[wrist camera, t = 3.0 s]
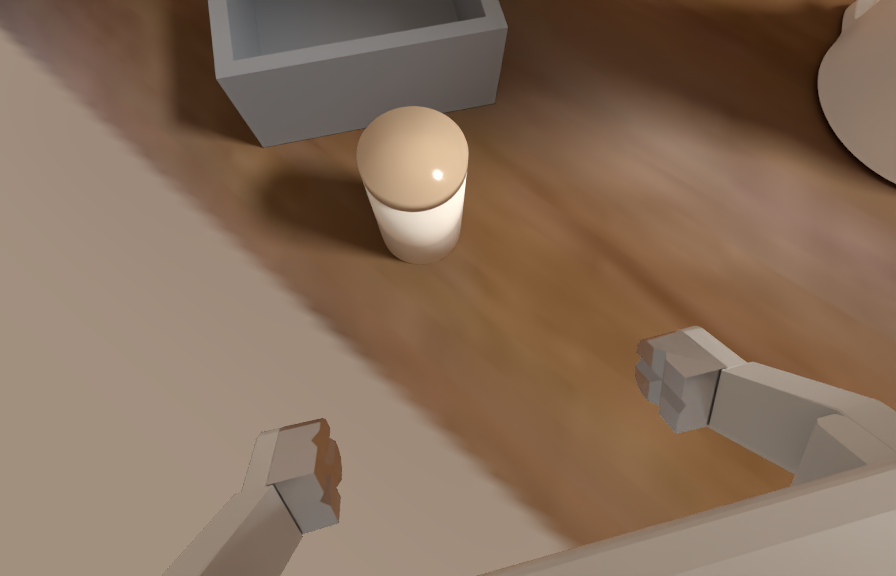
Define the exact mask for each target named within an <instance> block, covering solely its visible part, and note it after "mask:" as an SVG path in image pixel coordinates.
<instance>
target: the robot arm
mask: <svg viewBox="0 0 896 576" xmlns="http://www.w3.org/2000/svg"><path fill="white" fill-rule="evenodd" d="M818 93H819V99H820V103H821V106H822V109H823V112H824V114H825V116H826V118H827V120H828V122H829V124H830V126H831V127H832V129H833V131H834V132H835V134H836V135H837V136H838V138H839V139H840V140H841V142H842V143H843V144H844V145H845V146H846V147H847V148H848V150H849V151H850V152H851V153H852V154H853V155H854V156H856V157H857V158H858V159H859V160H860V161H861V162H862V163H864V164H865V165H866V166H867V167H869V168H870V169H872V170H873V171H874V172H876V173H877V174H879V175H881V176H882V177H884V178H886V179H887V180H889V181H891V182H893V183H895V184H896V0H856V1H855V2H854V3H852V4H851V5H850V6H849V7H848V8H847V9H846V11H845V13H844V17H843V23H842V33H841V35H840V36H839V38H838V39H837V41H836V42H835V43H834V44H833V45H832V46H831V48H830V49H829V50H828V51H827V53H826V54H825V56H824V58H823V60H822V63H821V65H820V69H819V74H818ZM637 354H638V355H639V356H640V357H641V359H640V360H639V362H638V363H637V364H636V366H635V378H636V382H637V385H638V387H639V389H640V391H641V393H642V394H643V396H644V397H645V398H646V399H647V400H648V401H649V402H652V403H654V404H656V405H658V406H659V415H660V416H661V417H662V418H663V419H664V421H665V422H666V423H667V424H668V425H669V426H670V428H671V429H672V430H673V431H674V432H675V433H681V432H685V431H689V430H693V429H698V428H702V427H706V426H709V428H710V429H712V430H714V431H716V432H717V433H719V434H721V435H723V436H725V437H727V438H729V439H730V440H732V441H734V442H736V443H738V444H740V445H741V446H743V447H745V448H747V449H749V450H751V451H752V452H754V453H756V454H758V455H760V456H762V457H764V458H765V459H767V460H769V461H771V462H773V463H775V464H776V465H778V466H780V467H782V468H784V469H786V470H787V471H789V472H791V473H793V474H795V475H794V478H793V480H792V483H791V485H790V487H787V488H784V489H780V490H777V491H773V492H770V493H766V494H763V495H759V496H756V497H752V498H749V499H745V500H742V501H738V502H735V503H731V504H728V505H724V506H720V507H717V508H713V509H710V510H706V511H703V512H699V513H696V514H692V515H689V516H685V517H682V518H678V519H675V520H671V521H668V522H664V523H661V524H657V525H654V526H650V527H647V528H643V529H640V530H636V531H633V532H629V533H625V534H622V535H618V536H615V537H611V538H608V539H604V540H601V541H597V542H594V543H590V544H587V545H583V546H580V547H576V548H573V549H569V550H566V551H562V552H559V553H555V554H552V555H548V556H545V557H541V558H538V559H534V560H531V561H527V562H524V563H520V564H517V565H513V566H509V567H506V568H503V569H499V570H496V571H492V572H488V573H485V574H481V575H478V576H896V411H894V410H893V409H891V408H890V407H888V406H887V405H885V404H883V403H882V402H880V401H879V400H876V399H872V398H869V397H866V396H863V395H859V394H856V393H853V392H850V391H846V390H843V389H840V388H837V387H833V386H830V385H827V384H824V383H821V382H817V381H814V380H811V379H808V378H804V377H801V376H798V375H795V374H791V373H788V372H785V371H782V370H778V369H775V368H772V367H769V366H766V365H762V364H759V363H756V362H750V363H747V362H745V361H744V360H743V359H742V358H740V357H739V356H738V355H736V354H735V353H734V352H732V351H731V350H730V349H729V348H727V347H726V346H725V345H723V344H722V343H721V342H719V341H718V340H717V339H716V338H714V337H713V336H712V335H710V334H709V333H708V332H707V331H705V330H704V329H703V328H701V327H698V326H692V327H688V328H684V329H681V330H677V331H674V332H670V333H666V334H662V335H658V336H654V337H650V338H646V339H642V340H640V341H639V343H638V345H637ZM329 436H330V427H329V425H328V423H327V421H326V419H323V418H321V419H317V420H312V421H308V422H303V423H299V424H295V425H290V426H285V427H282V428H279V429H275V430H269V431H265V432H261V433H260V435H259V436H258V437H257V440H256V443H255V447H254V450H253V454H252V457H251V460H250V464H249V467H248V471H247V474H246V477H245V481H244V484H243V487H242V491H241V493H238V494H235V495H234V496H233V497H232V498H231V499H230V500H229V501H228V502H227V503H226V504H225V506H224V507H223V508H222V509H221V510H220V511H219V512H218V513H217V515H216V516H215V517H214V518H213V519H212V520H211V521H210V522H209V523H208V525H207V526H206V527H205V528H204V529H203V530H202V531H201V532H200V533H199V535H198V536H197V537H196V538H195V539H194V540H193V541H192V542H191V544H190V545H189V546H188V547H187V548H186V549H185V550H184V551H183V552H182V553H181V555H180V556H179V557H178V558H177V559H176V560H175V561H174V563H172V565H171V566H170V567H169V568H168V569H167V570H166V571H165V572H164V574H163V575H162V576H280V575H281V573H282V572H283V570H284V568H285V566H286V565H287V563H288V561H289V559H290V558H291V556H292V554H293V553H294V551H295V549H296V547H297V546H298V544H299V542H300V540H301V538H302V537H303V536H302V534H305V533H308V532H311V531H315V530H318V529H321V528H325V527H328V526H332V525H335V524H338V523H339V514H340V499H341V498H340V495H339V492H338V490H337V488H336V487H337V486H338V484H339V483H340V481H341V480H342V465H341V456H340V453H339V449H338V446H337V444H336V441H334V440H332V439H331V438H329Z"/></svg>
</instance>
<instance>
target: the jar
mask: <svg viewBox="0 0 896 576" xmlns="http://www.w3.org/2000/svg"><path fill="white" fill-rule="evenodd" d="M356 158H357V165H358V169H359V172H360V175H361V178H362V180H363V183H364V186H365V189H366V192H367V195H368V197H369V200H370V203H371V206H372V209H373V212H374V215H375V217H376V220H377V223H378V226H379V229H380V232H381V234H382V237H383V240H384V242H385V245H386V246H387V248H388V249H389V251H390V252H391V253H392V254H393V255H394V256H396V257H397V258H398V259H400V260H402V261H404V262H407V263H410V264H416V265H426V264H431V263H435V262H437V261H439V260H441V259H443V258H445V257H446V256H447V255H448V254H449V253H450V252H451V251H452V250H453V249H454V247H455V246H456V244H457V242H458V240H459V236H460V230H461V221H462V212H463V202H464V193H465V184H466V174H467V165H468V146H467V142H466V139H465V136H464V134H463V133H462V131H461V129H460V128H459V127H458V125H457V124H456V123H455V122H454V121H453V120H451V119H450V118H449V117H448V116H446V115H444V114H443V113H441V112H438V111H436V110H433V109H430V108H426V107H419V106H407V107H400V108H396V109H393V110H390V111H388V112H386V113H384V114H382V115H380V116H379V117H377V118H376V119H375V120H373V121H372V122H371V123H370V124H369V125H368V126H367V128H366V129H365V130H364V132H363V133H362V135H361V137H360V140H359V143H358V146H357V155H356Z"/></svg>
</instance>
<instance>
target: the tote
mask: <svg viewBox="0 0 896 576" xmlns="http://www.w3.org/2000/svg"><path fill="white" fill-rule="evenodd" d="M208 6H209V16H210V26H211V35H212V45H213V54H214V64H215V74H216V80H217V81H218V83H219V84H220V85H221V87H222V88H223V90H224V91H225V93H226V94H227V96H228V97H229V99H230V100H231V101H232V103H233V104H234V106H235V107H236V109H237V110H238V112H239V113H240V114H241V116H242V117H243V119H244V120H245V122H246V123H247V125H248V126H249V127H250V129H251V130H252V132H253V133H254V135H255V136H256V138H257V139H258V140H259V142H260V143H261V145H262V146H263V147H269V146H274V145H279V144H284V143H289V142H295V141H300V140H305V139H310V138H316V137H321V136H326V135H331V134H336V133H342V132H347V131H352V130H357V129H363V128H367V126H368V125H369V124H370V123H371V122H372V121H373V120H375V119H376V118H377V117H379V116H380V115H382V114H384V113H386V112H388V111H390V110H393V109H396V108H400V107H407V106H419V107H426V108H430V109H433V110H436V111H438V112H441V113H446V112H451V111H457V110H462V109H467V108H472V107H478V106H483V105H488V104H493V103H495V99H496V94H497V88H498V82H499V76H500V71H501V65H502V59H503V54H504V48H505V42H506V36H507V31H508V26H507V23H506V20H505V17H504V14H503V11H502V9H501V6H500V3H499V0H208Z"/></svg>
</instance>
